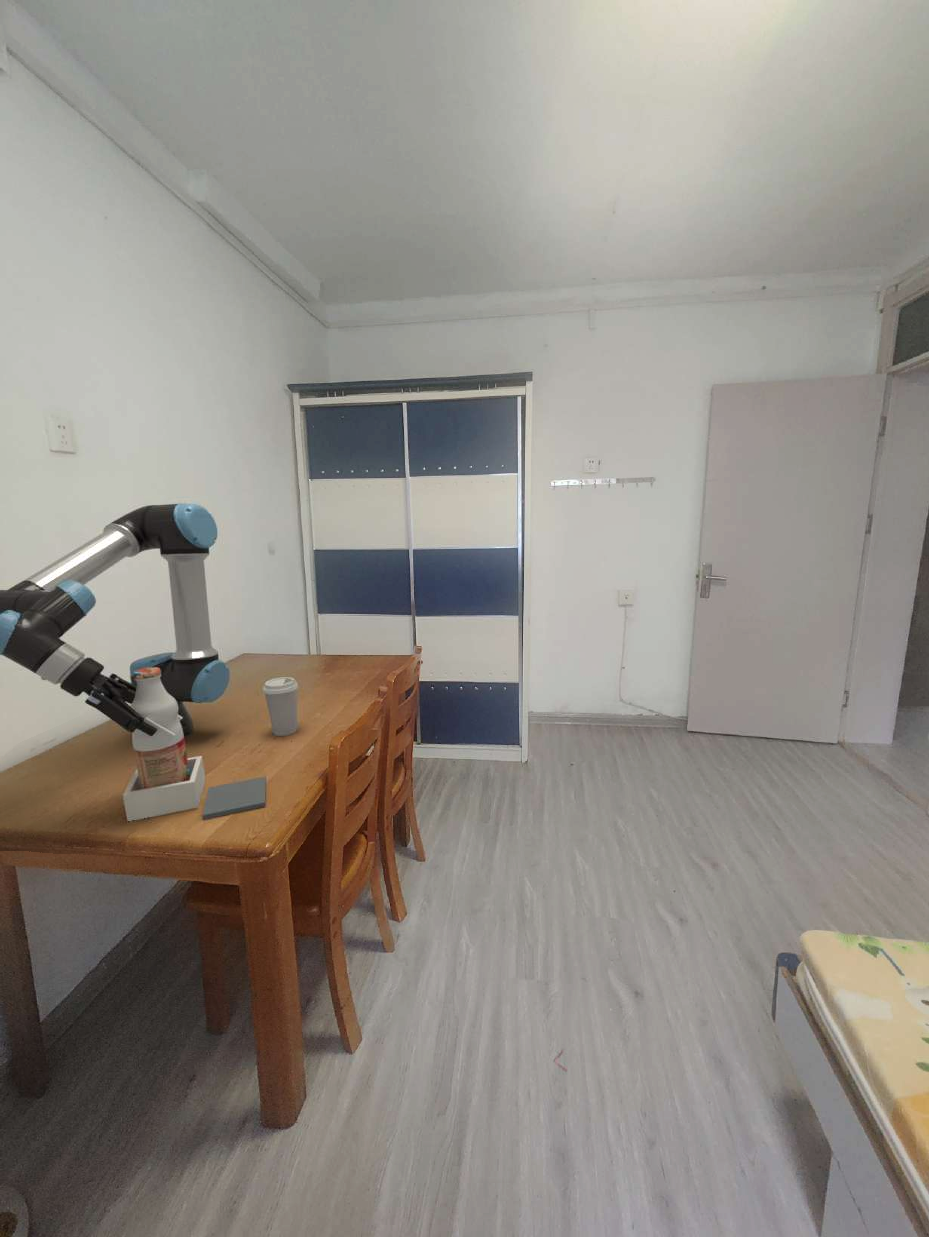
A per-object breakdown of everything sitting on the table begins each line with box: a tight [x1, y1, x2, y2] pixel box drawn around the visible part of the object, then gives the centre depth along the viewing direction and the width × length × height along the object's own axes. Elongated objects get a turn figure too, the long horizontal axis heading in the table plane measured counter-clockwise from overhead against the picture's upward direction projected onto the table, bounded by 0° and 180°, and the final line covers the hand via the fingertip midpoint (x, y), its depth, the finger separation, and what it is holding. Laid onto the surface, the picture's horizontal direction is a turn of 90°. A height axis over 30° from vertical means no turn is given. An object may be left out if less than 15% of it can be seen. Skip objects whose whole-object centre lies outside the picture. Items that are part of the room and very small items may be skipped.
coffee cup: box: [262, 676, 299, 737], centre depth 146 cm, size 10×10×15 cm
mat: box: [201, 775, 267, 821], centre depth 112 cm, size 12×12×1 cm
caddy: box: [122, 755, 206, 822], centre depth 113 cm, size 13×13×6 cm
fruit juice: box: [129, 667, 190, 790], centre depth 110 cm, size 9×9×28 cm
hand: (174, 730), depth 111 cm, fingers closed on fruit juice, 9 cm apart
